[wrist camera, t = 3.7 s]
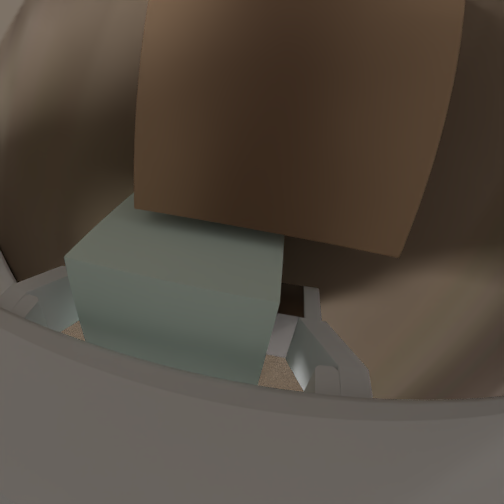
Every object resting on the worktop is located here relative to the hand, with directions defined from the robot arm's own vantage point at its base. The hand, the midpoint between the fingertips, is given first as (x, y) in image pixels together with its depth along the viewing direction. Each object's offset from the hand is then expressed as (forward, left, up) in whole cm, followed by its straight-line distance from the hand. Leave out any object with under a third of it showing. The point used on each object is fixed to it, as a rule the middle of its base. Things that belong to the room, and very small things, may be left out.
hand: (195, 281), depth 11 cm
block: (-2, -7, -2) cm, 7 cm away
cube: (0, 0, -2) cm, 2 cm away
